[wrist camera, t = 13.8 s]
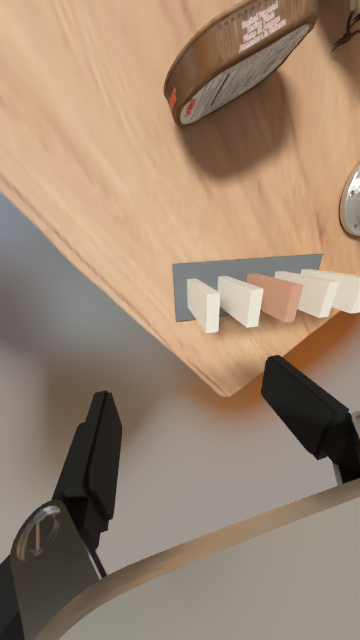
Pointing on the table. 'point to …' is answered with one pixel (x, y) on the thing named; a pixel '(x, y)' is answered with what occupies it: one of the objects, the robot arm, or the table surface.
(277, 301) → the tile
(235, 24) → the tin
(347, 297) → the tile
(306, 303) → the tile
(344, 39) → the decorative bird
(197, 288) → the tile
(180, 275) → the slate mat
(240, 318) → the tile
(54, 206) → the table surface
